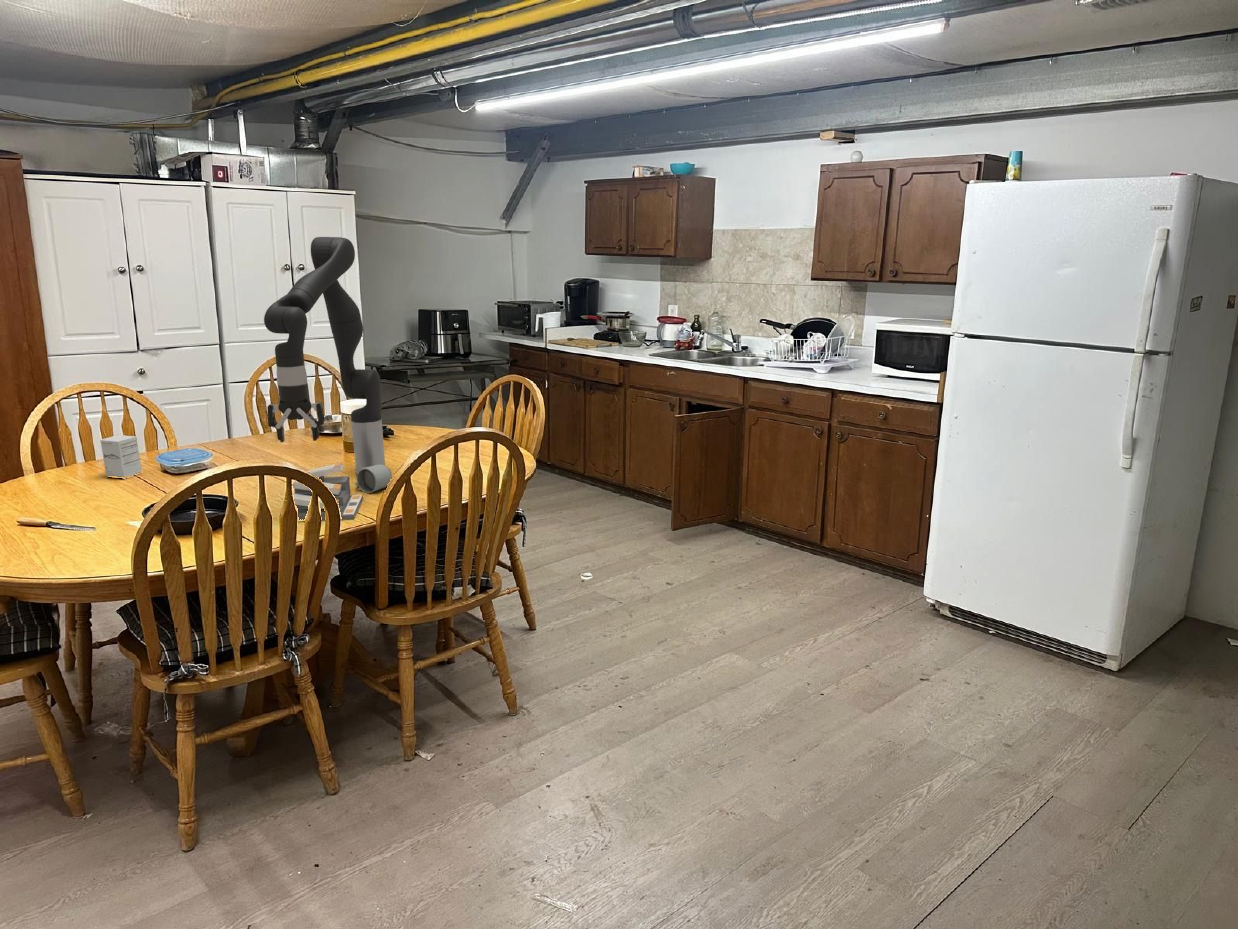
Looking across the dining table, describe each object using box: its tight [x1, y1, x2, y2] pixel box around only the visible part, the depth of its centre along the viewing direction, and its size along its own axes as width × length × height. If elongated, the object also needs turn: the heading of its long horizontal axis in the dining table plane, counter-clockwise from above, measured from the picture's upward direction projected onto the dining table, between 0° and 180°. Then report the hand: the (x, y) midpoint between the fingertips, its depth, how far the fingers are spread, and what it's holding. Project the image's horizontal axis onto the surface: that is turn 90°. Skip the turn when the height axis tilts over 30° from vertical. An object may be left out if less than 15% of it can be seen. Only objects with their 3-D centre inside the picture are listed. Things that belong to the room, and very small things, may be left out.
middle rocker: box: [293, 480, 341, 495], centre depth 237 cm, size 4×12×2 cm, turn 98°
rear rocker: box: [306, 461, 345, 477], centre depth 242 cm, size 4×12×2 cm, turn 98°
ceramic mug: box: [354, 464, 393, 494], centre depth 257 cm, size 11×8×8 cm
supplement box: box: [100, 434, 143, 478], centre depth 270 cm, size 7×7×13 cm
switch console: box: [293, 475, 364, 522], centre depth 238 cm, size 18×18×8 cm
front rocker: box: [292, 493, 339, 509], centre depth 232 cm, size 4×12×2 cm, turn 98°
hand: (298, 440), depth 233 cm, fingers open, 8 cm apart
